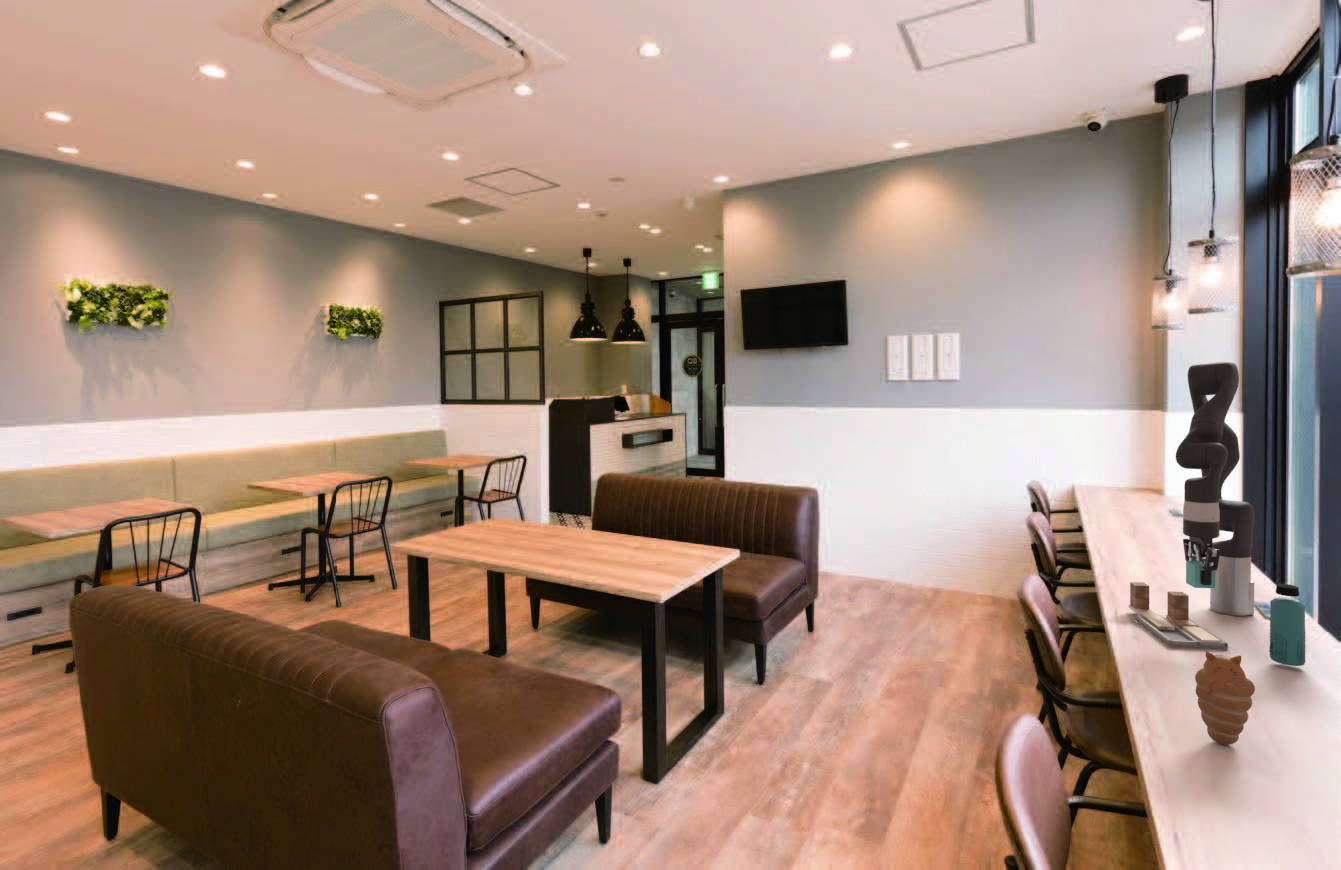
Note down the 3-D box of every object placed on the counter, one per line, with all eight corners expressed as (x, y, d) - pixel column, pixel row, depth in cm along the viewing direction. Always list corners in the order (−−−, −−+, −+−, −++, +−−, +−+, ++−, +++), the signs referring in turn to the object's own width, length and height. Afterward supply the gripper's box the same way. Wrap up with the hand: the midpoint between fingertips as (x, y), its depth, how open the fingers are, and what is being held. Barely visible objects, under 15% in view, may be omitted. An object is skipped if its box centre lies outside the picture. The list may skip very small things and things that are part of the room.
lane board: (1185, 622, 192) (1185, 614, 192) (1227, 650, 172) (1227, 641, 172) (1134, 620, 195) (1134, 612, 195) (1169, 647, 175) (1169, 639, 175)
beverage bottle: (1312, 673, 157) (1314, 589, 156) (1280, 671, 158) (1281, 589, 157) (1293, 662, 163) (1294, 581, 162) (1261, 661, 165) (1262, 581, 163)
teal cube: (1205, 583, 178) (1206, 561, 178) (1215, 588, 174) (1215, 565, 174) (1186, 582, 180) (1186, 560, 179) (1194, 587, 175) (1194, 565, 175)
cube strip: (1143, 608, 201) (1144, 582, 201) (1174, 630, 183) (1175, 601, 183) (1128, 607, 202) (1128, 581, 202) (1158, 629, 184) (1158, 601, 184)
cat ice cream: (1197, 748, 128) (1197, 656, 127) (1191, 729, 135) (1191, 642, 133) (1257, 759, 123) (1258, 664, 122) (1248, 739, 130) (1249, 649, 129)
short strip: (1181, 618, 191) (1182, 591, 191) (1196, 628, 184) (1196, 600, 183) (1165, 618, 192) (1165, 590, 192) (1179, 627, 185) (1179, 599, 184)
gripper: (1233, 523, 168) (1232, 590, 169) (1203, 513, 182) (1203, 575, 183) (1198, 523, 170) (1198, 589, 171) (1171, 513, 183) (1171, 574, 185)
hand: (1200, 581), depth 177 cm, fingers closed on teal cube, 4 cm apart
